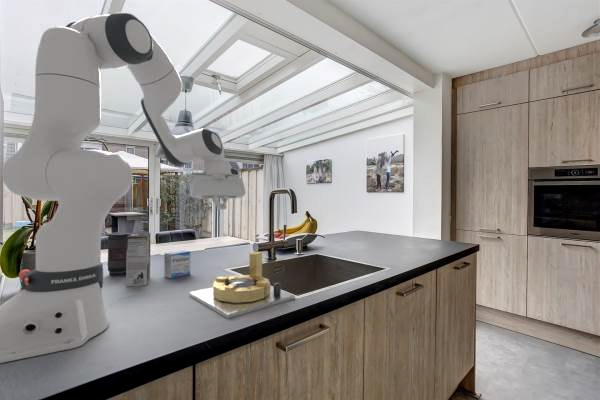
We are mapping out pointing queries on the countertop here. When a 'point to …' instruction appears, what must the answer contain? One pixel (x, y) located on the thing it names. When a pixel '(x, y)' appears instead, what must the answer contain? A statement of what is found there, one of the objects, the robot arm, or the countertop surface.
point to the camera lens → (117, 254)
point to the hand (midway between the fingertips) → (221, 209)
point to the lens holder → (247, 294)
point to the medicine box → (176, 264)
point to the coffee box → (138, 259)
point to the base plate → (241, 307)
